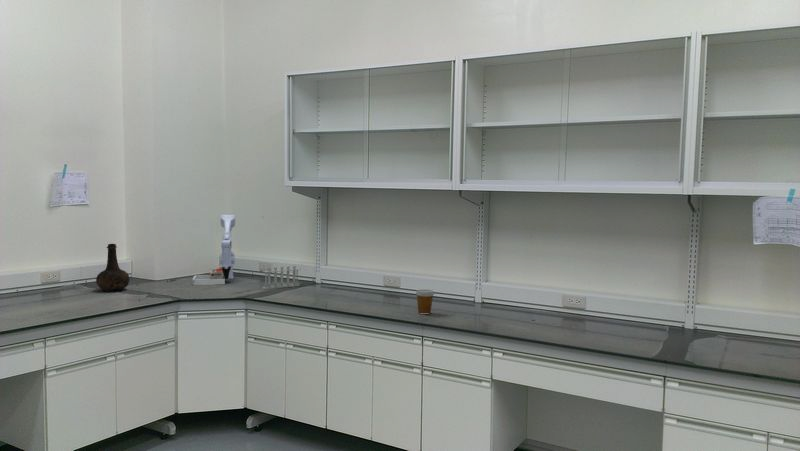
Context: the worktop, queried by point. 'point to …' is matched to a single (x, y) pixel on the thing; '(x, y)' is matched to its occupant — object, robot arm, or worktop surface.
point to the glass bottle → (112, 273)
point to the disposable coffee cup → (424, 300)
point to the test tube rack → (280, 278)
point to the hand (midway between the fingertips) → (226, 278)
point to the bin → (206, 280)
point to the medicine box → (217, 273)
